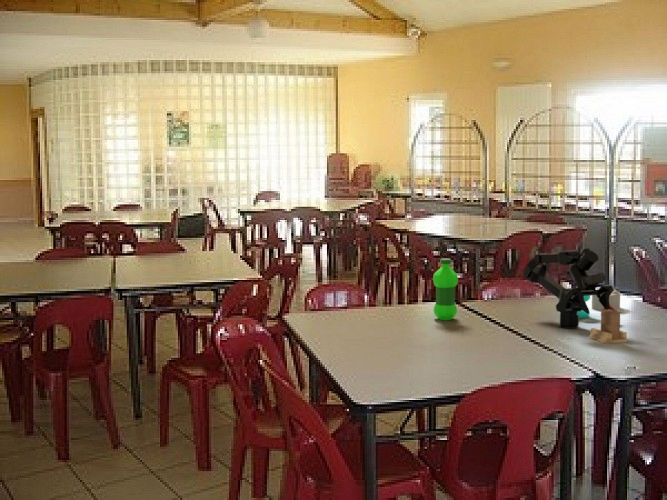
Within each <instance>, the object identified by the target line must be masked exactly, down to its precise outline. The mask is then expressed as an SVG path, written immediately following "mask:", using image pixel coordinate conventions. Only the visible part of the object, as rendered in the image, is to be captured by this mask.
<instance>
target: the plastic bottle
mask: <svg viewBox="0 0 667 500" xmlns="http://www.w3.org/2000/svg"><path fill="white" fill-rule="evenodd" d="M451 259H452V258H444V257H443V258H440V265H441V267H440V268H439V269H438V270H437V271H435V272H434V273H433V278H432V280H433V285H434V286H435V303H434V306H433V313H434V315H435V316H436V317H437V319H438V320H441V321H451V320H452V319H453V318H455V317H456V315H457V313H458V308H457V305H456V301H455V300H456V299H455V298H456V287H457V285H458V283H459V277H458V274H457V273H456V271H454V269H452V268H451V267H450V265H451V264H452V260H451Z"/></svg>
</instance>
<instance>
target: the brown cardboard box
mask: <svg viewBox="0 0 667 500" xmlns="http://www.w3.org/2000/svg"><path fill="white" fill-rule="evenodd" d="M600 317H601V318H600V330H601V331H605V332H608V333H611V334H612V340H619V336H620V330H621V328H620V327H621V312H620V311H618V310H617V311H614V310H610V309H607V310H601V311H600Z"/></svg>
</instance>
